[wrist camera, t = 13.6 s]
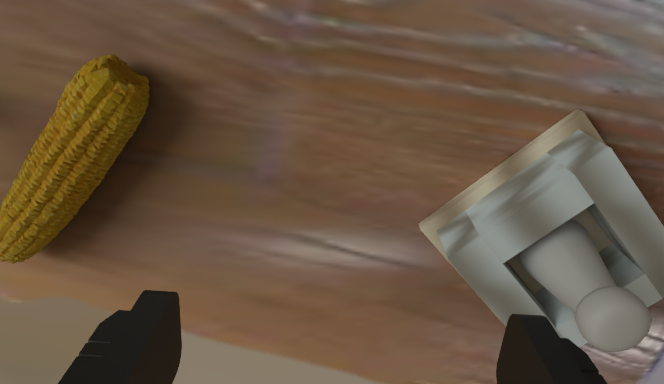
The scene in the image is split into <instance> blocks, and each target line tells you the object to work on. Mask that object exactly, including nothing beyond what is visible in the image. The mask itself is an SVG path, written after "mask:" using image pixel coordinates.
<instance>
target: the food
mask: <svg viewBox="0 0 664 384" xmlns="http://www.w3.org/2000/svg"><path fill="white" fill-rule="evenodd" d="M148 83H149V80H148V79H147V77H146V76H142V75H138V74H137V73H136V72H134V71H132V68H130V67H128V66H127V63H126V62H124V61H122V60H119V58H118V57H117V56H115V55H113V54H112V55H105V56H100V57H98V58H96V59H94V60H92V61H90V62H88V63H86V64H85V65H84V66H83V67H82V68H81V69H80V70H79V71H78V72H77V73H76V74H75V75H74V77H73V79H72V80H71V81H70V82H69V83H68V85H66V87H65V89H64V91H63V93H62V96H61V98H60V100H58V105H57V108H56V111H55V112H54V114H53V116H52V117H50V118H49V122H48V124H47V125H46V127H45V129H44V128H43V130H42V132H41V134H40V136H39V138H38V139H37V140H36V142H35V144H34V145H33V147H32V149H31V150H30V152H29V155H28V157H27V158H26V161H25V162H23V166H22V168H21V170H20V172H19V175H18V177H17V178H16V179H15V180H14V182H13V185H12V187H11V189H10V190H9V192H8V194H7V195H6V196H5V198H4V200H3V202H2V205H1V206H0V261H7V262H11V263H13V264H14V263H16V262H17V261H18V262H23V261H24V260H25V259H29V258H30V257H32V256H33V255H35V254H36V253H38V252H39V251H40V250H42V249H43V248H44V247H45V246H47V245H48V244H49V243H50V242H51V241H52V239H54V238H55V237H56V236H58V234H59V233H60V231H61V230H62V229H64V228H65V227H66V226H67V224H68V223H69V222H70V220H72V219H73V218H74V216H75V215H76V214H77V212H78V210H79V209H80V208H81V206H82V205H83V204H84V202H85V201H86V200H87V199H89V196H90V195H91V194H92V192H93V191H94V189H95V188H96V187H97V186H98V185H100V182H101V181H102V179H104V177H105V174H106V173H107V171H108V170H109V168H110V166H112V165H113V163H114V161H115V160H116V158H117V157H118V155H119V154H120V152H122V150H123V148H124V147H125V145H126V143H127V142H128V140H129V139H130V138H131V137H132V136H133V135H134V132H135V131H136V128H137V127H138V126H139V123H141V119H142V118H143V116H144V115H145V113H146V108H147V107H148V99H149V96H150V94H149V90H150V87H149V85H148Z"/></svg>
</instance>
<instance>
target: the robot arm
mask: <svg viewBox="0 0 664 384" xmlns="http://www.w3.org/2000/svg"><path fill="white" fill-rule="evenodd" d="M181 347H182V341H181V324H180V306H179V296H178V293H177V292H167V291H151V290H145V291H143V292H142V294H141V295H140V297H139V298H138V300H137V301H136V303H135V305H134V306H133V308H132V309H131V311H124V310H118V311H117V312H115V313H114V314H113V315H111V316H110V317H108V318H107V319H105V320H104V321H103V322H102V323H100V324H99V326H98V327H97V328H96V330H95V332H94V333H93V334H92V336H91V337H90V339H89V341H88V343H86V344H85V346H84V347H83V348H82V350H81V351H80V353H79V357H76V359H75V360H74V362H73V363H72V365H71V366H70V367H69V368H68V370H67V371H66V373H65V374H64V376H63V377H62V379H61V380H60V381H59V383H58V384H172V382H173V380H174V378H175V375H176V373H177V370H178V367H179V363H180V357H181V349H182V348H181ZM598 372H599V371H598V369H597V368H596V367H595V365H594V364H593V362H592V361H591V359H590V358H589V356H588V355H587V354H586V353H585V352H584V351H583V350H581V349H580V348H579V347H578V346H577V345H575V344H574V343H573V342H572V341H570V340H569V339H568V338H560V337H559V335H558V334H557V332H556V331H555V329H554V328H553V326H552V324H551V323H550V321H549V320H548V318H547V317H545V316H543V315H526V314H511V315H510V317H509V319H508V322H507V326H506V330H505V334H504V338H503V342H502V346H501V350H500V354H499V358H498V362H497V369H496V377H497V384H607V383H606V381H605V380H604V378H603V377H602V375H600V374H599V373H598Z"/></svg>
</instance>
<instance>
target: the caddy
mask: <svg viewBox="0 0 664 384" xmlns="http://www.w3.org/2000/svg"><path fill="white" fill-rule="evenodd" d="M569 219H573V220H575V221H577V222H578V223H579V224H580V225H582V226H583V227H584V228H585V229H586V230H587V232H588V233H589V235H590V237H591V239H592V241H593V243H594V245H595V247H596V249H597V251H598V253H599V255H600V256H601V258H602V260H603V262H604V264H605V266H606V268H607V270H608V272H609V274H610V275H611V277H612V279H613V281H614V282H615V284H616V286H617V287H622V288H626V289H628V290H629V291H631V292H632V293H633V294H635V295H636V296H637V297H638V298H639V299H641V300H642V301H643V302H644V304H645V305H646V307H649V306H651V305H652V304H654V303H656V302H658V301H659V300H661V299H663V298H664V226H663V225H662V223H661V222H660V220H659V219H658V217H657V216H656V214H655V213H654V211H653V210H652V208H651V207H650V205H649V204H648V202H647V201H646V199H645V198H644V196H643V195H642V193H641V192H640V190H639V189H638V187H637V186H636V184H635V183H634V181H633V180H632V178H631V177H630V175H629V174H628V172H627V171H626V169H625V168H624V166H623V165H622V163H621V162H620V161H619V159H618V158H617V156H616V155H615V153H614V152H613V150H612V149H611V148H610V147H609V146H607V145H606V144H605V143H604V141H603V140H602V138H601V137H600V135H599V134H598V132H597V131H596V129H595V128H594V126H593V125H592V123H591V122H590V120H589V119H588V117H587V116H586V114H585V113H584V112H583V111H581V110H579V109H576V110H574V111H573V112H571V113H570V114H569V115H567V116H566V117H565V118H563V119H562V120H560V121H559V122H558V123H556V124H555V125H553V126H552V127H551V128H549V129H548V130H547V131H545V132H544V133H542V134H541V135H540V136H538V137H537V138H536V139H534V140H533V141H531V142H530V143H529V144H527V145H526V146H524V147H523V148H522V149H520V150H519V151H518V152H516V153H515V154H513V155H512V156H511V157H509V158H508V159H507V160H505V161H504V162H502V163H501V164H500V165H498V166H497V167H496V168H494V169H493V170H491V171H490V172H489V173H487V174H486V175H484V176H483V177H482V178H480V179H479V180H478V181H476V182H475V183H473V184H472V185H471V186H469V187H468V188H467V189H465V190H464V191H462V192H461V193H460V194H458V195H457V196H455V197H454V198H453V199H451V200H450V201H449V202H447V203H446V204H444V205H443V206H442V207H440V208H439V209H438V210H436V211H435V212H433V213H432V214H431V215H429V216H428V217H426V218H425V219H424V220H422V221H421V222H420V223H418V224H419V227H420V230H421V231H422V232H423V233H424V234H425V235H426V236H427V238H428V239H429V240H430V241H431V242H432V243H433V244H434V246H435V247H436V248H437V249H438V250H439V251H440V252H441V254H442V255H443V256H444V257H445V258H446V259H447V260H448V262H449V263H450V264H451V265H452V266H453V267H454V268H455V270H456V271H457V272H458V273H459V274H460V275H461V276H462V278H463V279H464V280H465V281H466V282H467V283H468V284H469V285H470V287H471V288H472V289H473V290H474V291H475V292H476V293H477V295H478V296H479V297H480V298H481V299H482V300H483V301H484V303H485V304H486V305H487V306H488V307H489V308H490V309H491V311H492V312H493V313H494V314H495V315H496V316H497V317H498V319H499V320H500V321H501V322H502V323H503V324H504V325H505V327H506V326H507V322H508V319H509V317H510V315H511V314H526V315H543V316H545V317H547V318H548V320H549V321H550V323H551V324H552V326H553V328H554V329H555V331H556V332H557V334H558V335H559V337H560V338H568V339H569V340H570V341H572V342H573V343H574V344H575V345H577V346H578V347H581V346H583V345H584V344H586V343H588V341H587V340H586V339H584V337H583V336H582V334H581V333H580V331H579V328H578V326H577V323H576V321H575V313H573V312H572V311H571V310H570V309H569V308H568V307H567V306H565V305H564V304H563V303H562V302H561V301H560V300H559V299H557V298H556V297H555V296H554V295H553V294H552V293H551V292H549V291H548V290H547V289H546V288H545V287H544V286H543V285H541V284H540V283H539V282H538V281H537V280H536V279H535V278H533V277H532V276H531V275H530V274H529V273H528V272H527V271H525V269H524V267H523V264H522V262H521V260H520V258H519V255H518V253H520V252H521V251H523V250H524V249H526V248H527V247H529V246H530V245H532V244H533V243H535V242H536V241H538V240H539V239H541V238H542V237H544V236H545V235H547V234H548V233H550V232H551V231H553V230H554V229H556V228H557V227H559V226H560V225H562V224H563V223H565V222H566V221H568V220H569Z"/></svg>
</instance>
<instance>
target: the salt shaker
mask: <svg viewBox="0 0 664 384" xmlns="http://www.w3.org/2000/svg"><path fill="white" fill-rule="evenodd" d="M518 255H519V258H520V260H521V262H522V264H523V267H524V269H525V271H527V272H528V273H529V274H530V275H531V276H532V277H533V278H535V279H536V280H537V281H538V282H539V283H540V284H541V285H543V286H544V287H545V288H546V289H547V290H548V291H549V292H551V293H552V294H553V295H554V296H555V297H556V298H557V299H559V300H560V301H561V302H562V303H563V304H564V305H565V306H567V307H568V308H569V309H570V310H571V311H572V312H573V313H575V321H576V323H577V326H578V328H579V331H580V333H581V334H582V336H583V337H584V339H586V340H587V341H588V342H589V343H590V344H591V345H593V346H594V347H596V348H597V349H599V350H602V351H608V352H618V351H623V350H628V349H630V348H632V347H634V346H635V345H637V344H639V343H640V342H641V341H642V339H643V338H644V337H645V336H646V335H647V333H648V332H649V328H650V324H651V321H652V319H651V316H650V313H649V311H648V308H647V307H646V305H645V304H644V302H643V301H642V300H641V299H639V298H638V297H637V296H636V295H635V294H633V293H632V292H631V291H629V290H628V289H626V288H622V287H617V286H616V284H615V282H614V281H613V279H612V277H611V275H610V274H609V272H608V270H607V268H606V266H605V264H604V262H603V260H602V258H601V256H600V255H599V253H598V251H597V249H596V247H595V245H594V243H593V241H592V239H591V237H590V235H589V233H588V232H587V230H586V229H585V228H584V227H583V226H582V225H580V224H579V223H578V222H577V221H575V220H573V219H569V220H568V221H566V222H565V223H563V224H562V225H560V226H559V227H557V228H556V229H554V230H553V231H551V232H550V233H548V234H547V235H545V236H544V237H542V238H541V239H539V240H538V241H536V242H535V243H533V244H532V245H530V246H529V247H527V248H526V249H524V250H523V251H521V252H520V253H518Z"/></svg>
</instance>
